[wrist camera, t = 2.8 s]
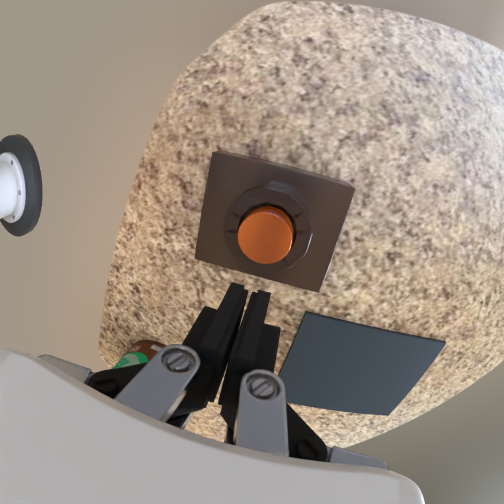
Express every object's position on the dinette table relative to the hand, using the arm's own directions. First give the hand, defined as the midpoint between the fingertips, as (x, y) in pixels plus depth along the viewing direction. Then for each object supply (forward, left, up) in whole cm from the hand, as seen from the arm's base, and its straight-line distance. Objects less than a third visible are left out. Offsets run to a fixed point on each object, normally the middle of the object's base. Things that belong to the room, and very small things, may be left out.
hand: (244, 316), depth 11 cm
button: (0, 0, -11) cm, 12 cm away
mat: (+16, -17, -16) cm, 28 cm away
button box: (0, 0, -16) cm, 16 cm away
